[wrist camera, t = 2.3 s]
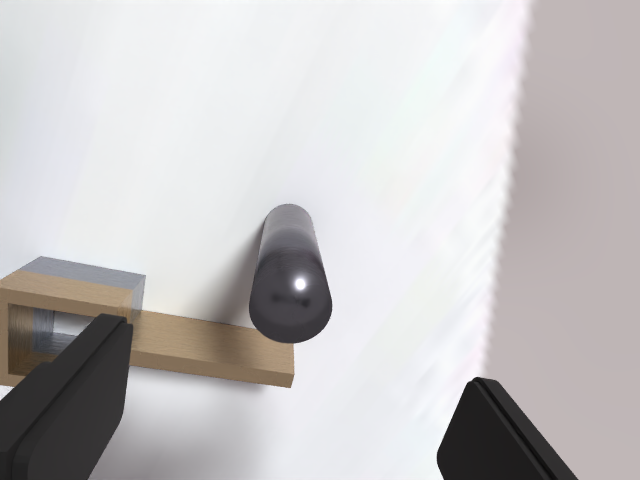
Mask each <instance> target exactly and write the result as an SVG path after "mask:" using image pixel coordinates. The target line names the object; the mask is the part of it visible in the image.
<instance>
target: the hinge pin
mask: <svg viewBox="0 0 640 480" xmlns="http://www.w3.org/2000/svg"><path fill="white" fill-rule="evenodd" d="M249 313H250V317H251V320H252V322H253V324H254V326H255V327H256V329H257V330H258V331H259V332H260V333H261V334H263V335H264V336H265V337H267V338H269V339H271V340H273V341H276V342H280V343H287V344H293V343H299V342H303V341H306V340H309V339H311V338H313V337H314V336H316V335H317V334H318V333H320V332H321V331H322V330H323V329H324V327H325V326H326V325H327V323H328V321H329V319H330V316H331V313H332V299H331V295H330V291H329V287H328V283H327V279H326V275H325V271H324V267H323V263H322V259H321V255H320V251H319V247H318V243H317V239H316V235H315V231H314V227H313V223H312V220H311V217H310V216H309V214H308V213H307V212H306V211H305V210H304V209H303V208H301V207H299V206H297V205H293V204H284V205H280V206H278V207H276V208H274V209H273V210H272V211H271V212H270V213H269V214H268V216H267V218H266V220H265V224H264V229H263V234H262V239H261V245H260V250H259V255H258V260H257V265H256V271H255V276H254V281H253V286H252V291H251V297H250V302H249Z"/></svg>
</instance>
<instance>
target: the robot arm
mask: <svg viewBox="0 0 640 480" xmlns="http://www.w3.org/2000/svg"><path fill="white" fill-rule="evenodd" d="M132 337H133V324H129V323H127V318H126V317H123V316H117V315H111V314H105V313H101V314H100V315H98V316H97V317H96V318H95V319H94V320H93V321H92V322H91V323H90V324H89V325H88V326H87V327H86V328H85V329H84V330H83V331H82V332H81V333H80V334H79V335H78V336H77V337H76V338H75V339H74V340H73V341H72V342H71V343H70V344H69V345H68V346H67V347H66V348H65V349H64V350H63V351H62V352H61V353H60V354H59V355H58V356H57V357H56V358H55V359H54V360H53V361H52V362H47V361H46V362H42V363H40V364H39V365H38V366H36V367H35V368H34V369H33V370H32V371H31V372H30V373H29V374H28V375H27V376H26V377H25V378H24V379H23V380H22V381H21V382H19V383H18V384H17V385H16V386H15V387H14V388H13V389H12V390H11V391H10V392H9V393H8V394H7V395H6V396H5V397H4V398H3V399H2V400H1V401H0V480H87V479H88V478H89V476H90V474H91V472H92V471H93V469H94V467H95V465H96V464H97V462H98V460H99V458H100V457H101V455H102V453H103V451H104V450H105V448H106V446H107V444H108V443H109V441H110V439H111V437H112V435H113V434H114V432H115V430H116V428H117V427H118V425H119V423H120V420H121V418H122V415H123V410H124V403H125V395H126V387H127V378H128V370H129V362H130V354H131V345H132ZM437 464H438V467H439V469H440V472H441V474H442V476H443V479H444V480H578V479H577V477H576V476H575V475H574V474H573V473H572V471H571V470H570V469H569V468H568V466H567V465H566V464H565V463H564V462H563V460H562V459H561V458H560V457H559V455H558V454H557V453H556V452H555V450H554V449H553V448H552V447H551V446H550V444H549V443H548V442H547V441H546V439H545V438H544V437H543V436H542V435H541V433H540V432H539V431H538V430H537V428H536V427H535V426H534V425H533V424H532V422H531V421H530V420H529V419H528V417H527V416H526V415H525V414H524V413H523V411H522V410H521V409H520V408H519V407H518V405H517V404H516V403H515V402H514V400H513V399H512V398H511V397H510V395H509V394H508V393H507V392H506V390H505V389H504V388H503V387H502V386H501V384H500V383H499V382H497V381H496V380H492V379H486V378H480V377H475V378H474V379H473V380H472V381H469V382H468V383H467V385H466V386H465V389H464V391H463V393H462V396H461V398H460V400H459V403H458V405H457V407H456V410H455V412H454V414H453V417H452V419H451V421H450V424H449V426H448V428H447V431H446V433H445V435H444V438H443V440H442V442H441V444H440V447H439V449H438V452H437Z"/></svg>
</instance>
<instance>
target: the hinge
mask: <svg viewBox="0 0 640 480" xmlns="http://www.w3.org/2000/svg"><path fill="white" fill-rule="evenodd" d="M145 276H146V275H141V274H135V273H130V272H124V271H119V270H113V269H108V268H102V267H97V266H91V265H86V264H80V263H75V262H69V261H64V260H58V259H53V258H47V257H42V256H41V257H39V258H37V259H35V260H34V261H32V262H30V263H29V264H27V265H25V266H23V267H22V268H20V269H18V270H16V271H15V272H13V273H11V274H10V275H8V276H6V277H4V278H3V279H1V280H0V385H4V386H12V387H15V386H16V385H17V384H18V383H19V382H21V381H22V380H23V379H24V378H25V377H26V376H27V375H28V374H29V373H30V372H31V371H32V370H33V369H34V368H35V367H36V366H38V365H39V364H40V363H42V362H46V361H47V362H52V361H53V360H54V359H55V358H56V357H57V356H58V355H59V354H60V353H61V352H62V351H63V350H64V349H65V348H66V347H67V346H68V345H69V344H70V343H71V342H72V341H73V340H74V339H75V338H76V337H77V336H73V335H66V334H60V333H53V312H54V310H55V311H61V312H67V313H73V314H80V315H86V316H92V317H97V316H98V315H100V314H101V313H105V314H111V315H117V316H123V317H126V318H127V323H129V324H133V337H132V345H131V354H130V362H129V366H130V365H132V366H139V367H146V368H153V369H160V370H167V371H174V372H181V373H188V374H195V375H202V376H209V377H216V378H223V379H230V380H237V381H244V382H251V383H258V384H265V385H272V386H279V387H286V388H291V385H292V381H293V378H294V348H293V344H287V343H280V342H276V341H273V340H271V339H269V338H267V337H265V336H264V335H263V334H261V333H260V332H259V331H258V330H257V329H252V328H246V327H240V326H234V325H228V324H222V323H216V322H210V321H204V320H198V319H192V318H186V317H180V316H174V315H168V314H162V313H156V312H150V311H144V310H142V302H143V293H144V285H145Z"/></svg>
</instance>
